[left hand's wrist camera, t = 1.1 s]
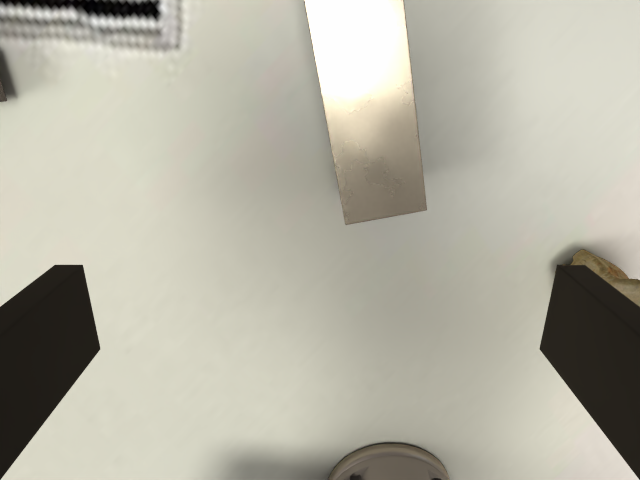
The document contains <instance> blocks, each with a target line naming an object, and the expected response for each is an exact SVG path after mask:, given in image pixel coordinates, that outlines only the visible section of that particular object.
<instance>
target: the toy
mask: <svg viewBox="0 0 640 480" xmlns="http://www.w3.org/2000/svg"><path fill="white" fill-rule="evenodd" d="M3 101H7V99H6V96H5V93H4V90H3V87H2V83H1V80H0V102H3Z"/></svg>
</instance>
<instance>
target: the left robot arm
mask: <svg viewBox="0 0 640 480" xmlns="http://www.w3.org/2000/svg"><path fill="white" fill-rule="evenodd" d="M99 350H100V345H99V340H98V335H97V331H96V326H95V321H94V316H93V312H92V307H91V302H90V297H89V292H88V288H87V283H86V278H85V273H84V269H83V265H54V266H53V267H52V268H50V269H49V270H48V271H46V272H45V273H44V274H43V275H41V276H40V277H39V278H37V279H36V280H35V281H33V282H32V283H31V284H29V285H28V286H27V287H26V288H24V289H23V290H22V291H20V292H19V293H18V294H16V295H15V296H14V297H13V298H11V299H10V300H9V301H7V302H6V303H5V304H3V305H2V306H1V307H0V480H1V478H2V477H3V476H4V474H5V473H6V472H7V470H8V469H9V468H10V466H11V465H12V464H13V463H14V461H15V460H16V459H17V457H18V456H19V455H20V453H21V452H22V451H23V449H24V448H25V447H26V446H27V444H28V443H29V442H30V440H31V439H32V438H33V436H34V435H35V434H36V432H37V431H38V430H39V429H40V427H41V426H42V425H43V423H44V422H45V421H46V419H47V418H48V417H49V415H50V414H51V413H52V412H53V410H54V409H55V408H56V406H57V405H58V404H59V402H60V401H61V400H62V398H63V397H64V396H65V395H66V393H67V392H68V391H69V389H70V388H71V387H72V385H73V384H74V383H75V381H76V380H77V379H78V378H79V376H80V375H81V374H82V372H83V371H84V370H85V368H86V367H87V366H88V364H89V363H90V362H91V361H92V359H93V358H94V357H95V355H96V354H97V353H98V351H99ZM540 350H541V351H542V353H543V354H544V355H545V357H546V358H547V359H548V361H549V362H550V363H551V364H552V366H553V367H554V368H555V370H556V371H557V372H558V374H559V375H560V376H561V378H562V379H563V380H564V381H565V383H566V384H567V385H568V387H569V388H570V389H571V391H572V392H573V393H574V395H575V396H576V397H577V398H578V400H579V401H580V402H581V404H582V405H583V406H584V408H585V409H586V410H587V412H588V413H589V414H590V415H591V417H592V418H593V419H594V421H595V422H596V423H597V425H598V426H599V427H600V429H601V430H602V431H603V432H604V434H605V435H606V436H607V438H608V439H609V440H610V442H611V443H612V444H613V446H614V447H615V448H616V449H617V451H618V452H619V453H620V455H621V456H622V457H623V459H624V460H625V461H626V463H627V464H628V465H629V466H630V468H631V469H632V470H633V472H634V473H635V474H636V476H637V477H638V478H639V480H640V307H639V306H638V305H637V304H635V303H634V302H633V301H631V300H630V299H629V298H627V297H626V296H625V295H624V294H622V293H621V292H620V291H618V290H617V289H616V288H614V287H613V286H612V285H611V284H609V283H608V282H607V281H605V280H604V279H603V278H601V277H600V276H599V275H597V274H596V273H595V272H594V271H592V270H591V269H590V268H588V267H587V266H586V265H557V269H556V273H555V278H554V283H553V288H552V292H551V297H550V302H549V307H548V312H547V316H546V321H545V326H544V331H543V335H542V340H541V345H540ZM328 480H449V477H448V474H447V471H446V469H445V468H444V466H443V465H442V464H441V462H440V461H439V460H438V459H436V458H435V457H434V456H433V455H431V454H430V453H428V452H426V451H424V450H422V449H420V448H417V447H413V446H409V445H404V444H379V445H373V446H369V447H366V448H363V449H360V450H358V451H356V452H353V453H352V454H350V455H348V456H347V457H345V458H344V459H343V460H342V461H340V462H339V463H338V464H337V465H336V467H335V468H334V469H333V471H332V472H331V474H330V476H329V479H328Z"/></svg>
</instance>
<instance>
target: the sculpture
mask: <svg viewBox="0 0 640 480" xmlns="http://www.w3.org/2000/svg"><path fill="white" fill-rule="evenodd" d="M563 265H565V264H563ZM570 265H586V266H587V267H588V268H590V269H591V270H592V271H594V272H595V273H596V274H597V275H599V276H600V277H601V278H603V279H604V280H605V281H607V282H608V283H609V284H611V285H612V286H613V287H614V288H616V289H617V290H618V291H620V292H621V293H622V294H624V295H625V296H626V297H627V298H629V299H630V300H631V301H633V302H634V303H635V304H637V305H638V306H639V307H640V280H638V279H629V278H628V277H627V275H626V274H625V273H624V272H623V271H622V270H621V269H619V268H618V267H617V266H615V265H613V264H612V263H610V262H608V261H606V260H605V259H603V258H600V257H597V256H595V255H593V254H591V253H590V252H588V251H586V250H580V251H579V252H577V253H576V254H575V255H574V256H573V262H572V264H570ZM555 273H556V272H555Z"/></svg>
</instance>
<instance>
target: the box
mask: <svg viewBox="0 0 640 480" xmlns="http://www.w3.org/2000/svg"><path fill="white" fill-rule="evenodd" d="M304 3H305V8H306V14H307V19H308V24H309V30H310V35H311V41H312V46H313V52H314V57H315V62H316V68H317V73H318V79H319V84H320V89H321V95H322V100H323V106H324V111H325V116H326V122H327V127H328V133H329V138H330V143H331V149H332V154H333V160H334V165H335V170H336V176H337V181H338V187H339V192H340V197H341V203H342V208H343V214H344V219H345V224H346V225H348V224H353V223H359V222H364V221H370V220H375V219H381V218H387V217H392V216H398V215H403V214H409V213H414V212H420V211H425V210H427V206H426V197H425V188H424V179H423V170H422V161H421V152H420V143H419V134H418V125H417V116H416V107H415V98H414V89H413V79H412V70H411V61H410V52H409V43H408V34H407V25H406V16H405V7H404V0H304Z"/></svg>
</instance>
